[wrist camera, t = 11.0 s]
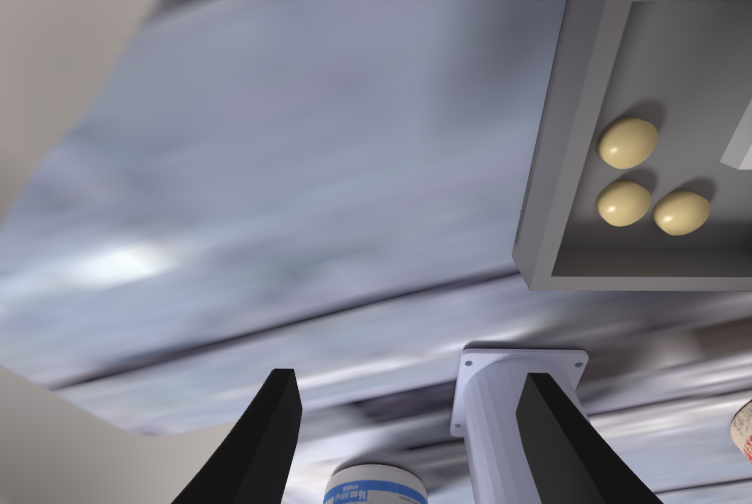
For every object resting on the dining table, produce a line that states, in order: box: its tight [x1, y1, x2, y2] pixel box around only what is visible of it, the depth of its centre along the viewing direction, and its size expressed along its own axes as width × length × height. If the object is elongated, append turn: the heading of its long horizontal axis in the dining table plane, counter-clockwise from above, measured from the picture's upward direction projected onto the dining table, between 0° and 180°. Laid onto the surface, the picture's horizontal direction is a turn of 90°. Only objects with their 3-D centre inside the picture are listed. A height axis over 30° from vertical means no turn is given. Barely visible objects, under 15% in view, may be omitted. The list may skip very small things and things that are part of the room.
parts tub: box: [512, 0, 752, 291], centre depth 15 cm, size 12×12×3 cm
